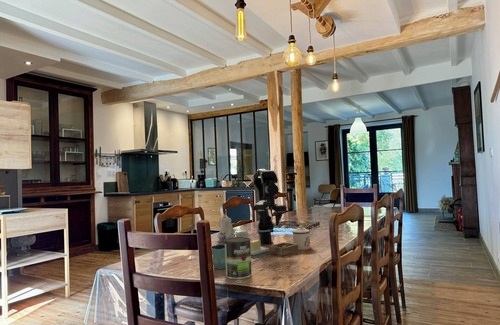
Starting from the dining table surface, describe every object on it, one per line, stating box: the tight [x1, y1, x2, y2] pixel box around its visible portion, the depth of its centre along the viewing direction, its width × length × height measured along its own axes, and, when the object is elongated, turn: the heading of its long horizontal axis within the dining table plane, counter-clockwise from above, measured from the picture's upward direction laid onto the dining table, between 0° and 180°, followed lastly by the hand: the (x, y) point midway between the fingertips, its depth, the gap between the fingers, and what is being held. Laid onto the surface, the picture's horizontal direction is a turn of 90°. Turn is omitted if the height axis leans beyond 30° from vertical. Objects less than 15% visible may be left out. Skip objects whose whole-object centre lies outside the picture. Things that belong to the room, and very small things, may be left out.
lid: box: [250, 239, 270, 255], centre depth 166 cm, size 9×11×6 cm
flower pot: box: [211, 243, 226, 270], centre depth 144 cm, size 9×9×9 cm
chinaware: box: [217, 213, 250, 242], centre depth 206 cm, size 28×17×17 cm, turn 34°
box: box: [268, 241, 299, 258], centre depth 164 cm, size 9×11×4 cm
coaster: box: [251, 250, 271, 259], centre depth 166 cm, size 12×12×1 cm
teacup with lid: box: [291, 225, 311, 251], centre depth 175 cm, size 12×9×12 cm
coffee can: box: [223, 236, 253, 280], centre depth 131 cm, size 10×10×14 cm
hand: (270, 224), depth 173 cm, fingers open, 9 cm apart
